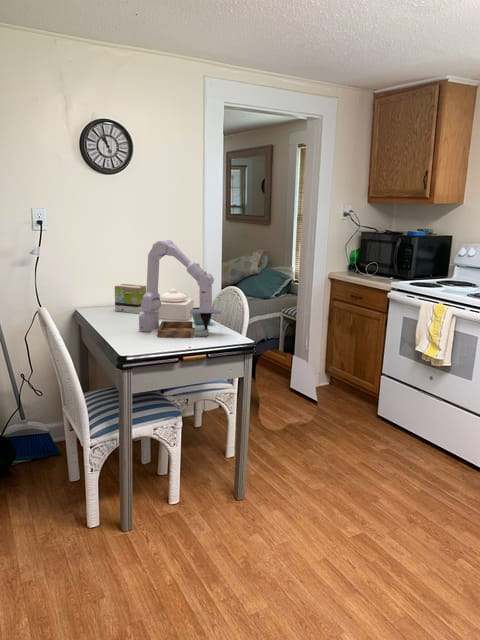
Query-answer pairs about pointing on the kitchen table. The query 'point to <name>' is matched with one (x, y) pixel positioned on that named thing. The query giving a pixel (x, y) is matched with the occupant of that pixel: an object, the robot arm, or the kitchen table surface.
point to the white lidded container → (175, 306)
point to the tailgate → (200, 331)
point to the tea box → (129, 298)
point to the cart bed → (176, 329)
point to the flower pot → (198, 318)
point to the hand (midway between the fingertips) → (205, 329)
